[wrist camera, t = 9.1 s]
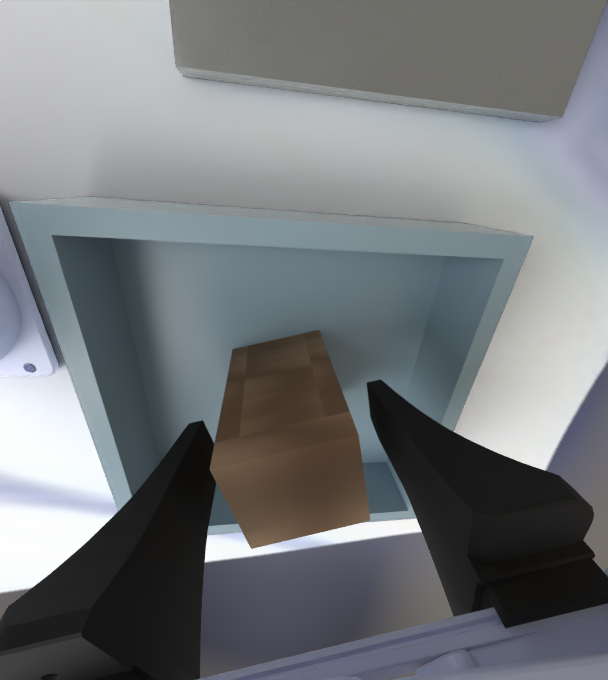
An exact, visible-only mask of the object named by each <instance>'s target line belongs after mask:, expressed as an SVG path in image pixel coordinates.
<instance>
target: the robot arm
mask: <svg viewBox="0 0 608 680" xmlns="http://www.w3.org/2000/svg"><path fill="white" fill-rule="evenodd" d="M30 364H33V365H34V366H35V367H36V368H34V367H32V366H31V365H30ZM57 369H58V362H57V359H56V357H55V354H54V351H53V349H52V346H51V343H50V340H49V338H48V335H47V332H46V330H45V327H44V324H43V321H42V319H41V316H40V313H39V311H38V308H37V305H36V302H35V300H34V297H33V294H32V292H31V289H30V286H29V283H28V281H27V278H26V275H25V273H24V270H23V267H22V264H21V262H20V259H19V256H18V254H17V251H16V248H15V245H14V243H13V240H12V237H11V235H10V232H9V229H8V226H7V224H6V221H5V218H4V216H3V213H2V210H1V207H0V377H2V376H50V375H52V374H53V373H54V372H56V371H57ZM367 391H368V400H369V409H370V418H371V420H372V423H373V426H374V428H375V431H376V434H377V436H378V439H379V441H380V443H381V445H382V447H383V449H384V450H385V452H386V454H387V456H388V458H389V460H390V462H391V464H392V466H393V468H394V470H395V472H396V474H397V475H398V477H399V479H400V481H401V483H402V485H403V487H404V489H405V491H406V494H407V496H408V498H409V501H410V503H411V506H412V508H413V510H414V513H415V515H416V518H417V520H418V523H419V525H420V528H421V530H422V533H423V535H424V538H425V540H426V543H427V545H428V548H429V551H430V553H431V556H432V559H433V561H434V564H435V567H436V569H437V572H438V574H439V577H440V580H441V583H442V585H443V588H444V591H445V594H446V596H447V599H448V602H449V605H450V607H451V610H452V612H453V616H454V617H451V618H448V619H443V620H439V621H435V622H431V623H426V624H422V625H418V626H414V627H410V628H406V629H402V630H398V631H394V632H390V633H386V634H382V635H378V636H374V637H369V638H365V639H361V640H357V641H353V642H349V643H345V644H340V645H336V646H332V647H329V648H324V649H320V650H316V651H312V652H307V653H304V654H299V655H295V656H291V657H287V658H283V659H279V660H275V661H271V662H266V663H262V664H258V665H254V666H250V667H246V668H242V669H238V670H234V671H230V672H225V673H221V674H217V675H213V676H209V677H205V678H201V679H200V632H201V607H202V588H203V573H204V561H205V549H206V540H207V533H208V527H209V521H210V516H211V510H212V505H213V499H214V494H215V488H216V481H215V479H214V477H213V475H212V473H211V472H210V464H211V459H212V454H213V449H214V442H213V440H212V438H211V436H210V434H209V432H208V430H207V428H206V426H205V423H204V421H203V420H202V421H197V422H193V423H189V424H188V425H187V427H186V428H185V429H184V431H183V432H182V433H181V435H180V436H179V437H178V439H177V440H176V442H175V443H174V444H173V446H172V447H171V449H170V450H169V451H168V453H167V454H166V455H165V457H164V458H163V459H162V461H161V462H160V463H159V465H158V466H157V467H156V468H155V470H154V471H153V472H152V473H151V475H150V476H149V477H148V478H147V479H146V481H145V482H144V483H143V484H142V486H141V487H140V488H139V489H138V490H137V492H136V493H135V494H134V495H133V496H132V497H131V498H130V499H129V501H128V502H127V503H126V504H125V505H124V506H123V507H122V508H121V509H120V510H119V511H118V512H117V513H116V514H115V515H114V516H113V517H112V518H111V519H110V520H109V521H108V522H107V523H106V524H105V525H104V526H103V527H102V528H101V529H100V530H99V531H98V532H97V533H96V534H95V535H94V536H93V537H92V538H91V539H90V540H89V541H88V542H86V543H85V544H84V545H83V546H82V547H81V548H80V549H79V550H78V551H76V552H75V553H74V554H73V555H72V556H71V557H70V558H68V559H67V560H66V561H65V562H64V563H63V564H61V565H60V566H59V567H58V568H57V569H55V570H54V571H53V572H52V573H51V574H49V575H48V576H47V577H46V578H44V579H43V580H42V581H41V582H39V583H38V584H37V585H35V586H34V587H33V588H32V589H30V590H29V591H28V592H27V593H25V594H24V595H23V596H21V598H19V599H18V600H16V601H15V602H14V603H12V604H11V605H10V606H8V608H7V609H6V611H5V613H4V615H3V616H2V618H1V619H0V680H384V679H388V678H392V677H396V676H400V675H404V674H408V673H412V672H415V676H411V677H403V678H395V679H388V680H608V568H606V569H605V570H604V571H602V570H601V569H600V567H599V566H598V565H597V564H596V563H595V562H594V560H593V559H592V558H594V557H595V555H594V552H593V551H592V550H591V549H590V548H589V546H588V545H586V543H585V542H584V541H583V539H584V537H585V535H586V533H587V531H588V530H589V528H590V526H591V524H592V521H593V517H594V512H593V508H592V506H591V505H589V503H587V502H586V501H585V500H584V499H583V498H582V497H581V496H580V495H579V493H577V491H576V490H575V489H574V488H572V487H571V486H570V485H569V484H568V483H567V482H566V481H565V480H563V479H562V478H561V477H560V476H559V475H556V474H553V473H550V472H547V471H544V470H541V469H538V468H535V467H532V466H529V465H527V464H524V463H521V462H518V461H516V460H513V459H511V458H508V457H506V456H503V455H501V454H498V453H496V452H494V451H491V450H489V449H487V448H485V447H483V446H481V445H478V444H476V443H474V442H472V441H470V440H468V439H466V438H464V437H462V436H460V435H458V434H457V433H455V432H453V431H451V430H449V429H448V428H446V427H444V426H443V425H441V424H439V423H438V422H436V421H435V420H433V419H432V418H430V417H429V416H427V415H426V414H424V413H423V412H421V411H420V410H419V409H417V408H416V407H415V406H413V405H412V404H411V403H409V402H408V401H407V400H405V399H404V398H403V397H401V396H400V395H399V394H398V393H396V392H395V391H394V390H393V389H392V388H391V387H389V386H388V385H387V384H386V383H385V382H384V381H382V380H381V379H380V380H376V381H371V382H367Z"/></svg>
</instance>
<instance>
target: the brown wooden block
mask: <svg viewBox="0 0 608 680" xmlns="http://www.w3.org/2000/svg"><path fill="white" fill-rule="evenodd" d="M210 472H211V473H212V475H213V477H214V479H215V481H216V483H217V485H218V487H219V489H220V490H221V492H222V494H223V496H224V498H225V500H226V502H227V504H228V506H229V507H230V509H231V511H232V513H233V515H234V517H235V519H236V521H237V523H238V525H239V526H240V528H241V530H242V532H243V534H244V536H245V538H246V540H247V542H248V543H249V545H250V547H251V549H252V548H257V547H261V546H265V545H269V544H273V543H278V542H282V541H286V540H290V539H295V538H299V537H303V536H307V535H311V534H316V533H320V532H324V531H328V530H333V529H337V528H341V527H345V526H349V525H354V524H358V523H362V522H366V521H370V513H369V506H368V499H367V492H366V485H365V477H364V470H363V463H362V456H361V448H360V441H359V435H358V432H357V429H356V427H355V424H354V421H353V419H352V416H351V413H350V411H349V408H348V405H347V403H346V400H345V397H344V395H343V392H342V390H341V387H340V384H339V382H338V379H337V376H336V374H335V371H334V368H333V366H332V363H331V360H330V358H329V355H328V352H327V350H326V347H325V344H324V342H323V339H322V336H321V334H320V331H319V330H316V331H311V332H307V333H303V334H298V335H294V336H289V337H285V338H280V339H276V340H272V341H267V342H263V343H258V344H254V345H249V346H245V347H241V348H236V349H233V350H232V355H231V360H230V365H229V371H228V376H227V381H226V386H225V391H224V397H223V402H222V407H221V412H220V417H219V423H218V428H217V433H216V438H215V443H214V449H213V454H212V459H211V464H210Z"/></svg>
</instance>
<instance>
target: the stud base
mask: <svg viewBox="0 0 608 680" xmlns="http://www.w3.org/2000/svg"><path fill="white" fill-rule="evenodd" d="M606 2H607V0H169V3H170V13H171V23H172V34H173V44H174V54H175V64H176V67H177V69H178V70H179V71H180V73H181V74H182V75H183V77H191V78H199V79H207V80H215V81H222V82H230V83H238V84H246V85H254V86H261V87H269V88H277V89H285V90H293V91H300V92H308V93H316V94H324V95H332V96H339V97H347V98H355V99H363V100H371V101H378V102H386V103H394V104H402V105H410V106H418V107H425V108H433V109H441V110H449V111H457V112H464V113H472V114H480V115H488V116H496V117H503V118H511V119H519V120H527V121H535V122H544V121H548V120H553V119H557V118H561V117H562V116H563V114H564V111H565V109H566V106H567V103H568V101H569V98H570V96H571V93H572V90H573V88H574V85H575V83H576V80H577V77H578V75H579V72H580V70H581V67H582V65H583V62H584V59H585V57H586V54H587V52H588V49H589V46H590V44H591V41H592V39H593V36H594V34H595V31H596V28H597V26H598V23H599V21H600V18H601V15H602V13H603V10H604V8H605V5H606Z"/></svg>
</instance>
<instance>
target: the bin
mask: <svg viewBox="0 0 608 680" xmlns="http://www.w3.org/2000/svg"><path fill="white" fill-rule="evenodd" d="M9 205H10V207H11V210H12V213H13V216H14V219H15V222H16V224H17V227H18V230H19V233H20V236H21V238H22V241H23V244H24V247H25V250H26V253H27V255H28V258H29V261H30V264H31V267H32V270H33V272H34V275H35V278H36V281H37V284H38V286H39V289H40V292H41V295H42V298H43V301H44V303H45V306H46V309H47V312H48V315H49V318H50V320H51V323H52V326H53V329H54V332H55V334H56V337H57V340H58V343H59V346H60V349H61V351H62V354H63V357H64V360H65V363H66V366H67V368H68V371H69V374H70V377H71V380H72V382H73V385H74V388H75V391H76V394H77V397H78V399H79V402H80V405H81V408H82V411H83V414H84V416H85V419H86V422H87V425H88V428H89V430H90V433H91V436H92V439H93V442H94V445H95V447H96V450H97V453H98V456H99V459H100V462H101V464H102V467H103V470H104V473H105V476H106V478H107V481H108V484H109V487H110V490H111V493H112V495H113V498H114V501H115V504H116V507H117V510H118V511H119V510H120V509H121V508H122V507H123V506H124V505H125V504H126V503H127V502H128V501H129V499H130V498H131V497H132V496H133V495H134V494H135V493H136V492H137V490H138V489H139V488H140V487H141V486H142V484H143V483H144V482H145V481H146V479H147V478H148V477H149V476H150V475H151V473H152V472H153V471H154V470H155V468H156V467H157V466H158V465H159V463H160V462H161V461H162V459H163V458H164V457H165V455H166V454H167V453H168V451H169V450H170V449H171V447H172V446H173V444H174V443H175V442H176V440H177V439H178V437H179V436H180V435H181V433H182V432H183V431H184V429H185V428H186V427H187V425H188V424H189V423H193V422H197V421H202V420H203V421H204V423H205V426H206V428H207V430H208V432H209V434H210V436H211V438H212V440H213V442H214V443H215V438H216V433H217V428H218V423H219V417H220V412H221V407H222V402H223V397H224V391H225V386H226V381H227V376H228V371H229V365H230V360H231V355H232V350H233V349H236V348H241V347H245V346H249V345H254V344H258V343H263V342H267V341H272V340H276V339H280V338H285V337H289V336H294V335H298V334H303V333H307V332H311V331H316V330H319V331H320V334H321V336H322V339H323V342H324V344H325V347H326V350H327V352H328V355H329V358H330V360H331V363H332V366H333V368H334V371H335V374H336V376H337V379H338V382H339V384H340V387H341V390H342V392H343V395H344V397H345V400H346V403H347V405H348V408H349V411H350V413H351V416H352V419H353V421H354V424H355V427H356V429H357V432H358V435H359V441H360V448H361V456H362V463H363V470H364V477H365V485H366V492H367V499H368V506H369V513H370V521H366V522H376V521H389V520H401V519H414V518H416V515H415V513H414V510H413V508H412V506H411V503H410V501H409V498H408V496H407V494H406V491H405V489H404V487H403V485H402V483H401V481H400V479H399V477H398V475H397V474H396V472H395V470H394V468H393V466H392V464H391V462H390V460H389V458H388V456H387V454H386V452H385V450H384V449H383V447H382V445H381V443H380V441H379V439H378V436H377V434H376V431H375V428H374V426H373V423H372V420H371V418H370V409H369V400H368V391H367V382H371V381H376V380H380V379H381V380H382V381H384V382H385V383H386V384H387V385H388V386H389V387H391V388H392V389H393V390H394V391H395V392H396V393H398V394H399V395H400V396H401V397H403V398H404V399H405V400H407V401H408V402H409V403H411V404H412V405H413V406H415V407H416V408H417V409H419V410H420V411H421V412H423V413H424V414H426V415H427V416H429V417H430V418H432V419H433V420H435V421H436V422H438V423H439V424H441V425H443V426H444V427H446V428H448V429H449V430H451V431H454V429H455V426H456V424H457V421H458V419H459V416H460V414H461V412H462V409H463V407H464V404H465V402H466V400H467V397H468V395H469V392H470V390H471V387H472V385H473V383H474V380H475V378H476V375H477V373H478V371H479V368H480V366H481V363H482V361H483V358H484V356H485V354H486V351H487V349H488V346H489V344H490V342H491V339H492V337H493V334H494V332H495V329H496V327H497V325H498V322H499V320H500V317H501V315H502V312H503V310H504V308H505V305H506V303H507V300H508V298H509V296H510V293H511V291H512V288H513V286H514V283H515V281H516V279H517V276H518V274H519V271H520V269H521V267H522V264H523V262H524V259H525V257H526V254H527V252H528V250H529V247H530V245H531V242H532V240H533V237H534V236H528V235H523V234H518V233H513V232H508V231H503V230H497V229H492V228H487V227H482V226H477V225H471V224H466V223H455V222H441V221H427V220H413V219H399V218H385V217H371V216H356V215H342V214H328V213H314V212H300V211H286V210H271V209H257V208H243V207H229V206H215V205H201V204H186V203H172V202H158V201H144V200H130V199H116V198H102V197H73V198H58V199H43V200H29V201H14V202H9ZM362 523H364V522H362ZM240 532H242V530H241V528H240V526H239V525H238V523H237V521H236V519H235V517H234V515H233V513H232V511H231V509H230V507H229V506H228V504H227V502H226V500H225V498H224V496H223V494H222V492H221V490H220V489H219V487H218V485H217V483H216V488H215V494H214V499H213V505H212V510H211V516H210V521H209V527H208V533H207V535H215V534H227V533H240Z"/></svg>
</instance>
